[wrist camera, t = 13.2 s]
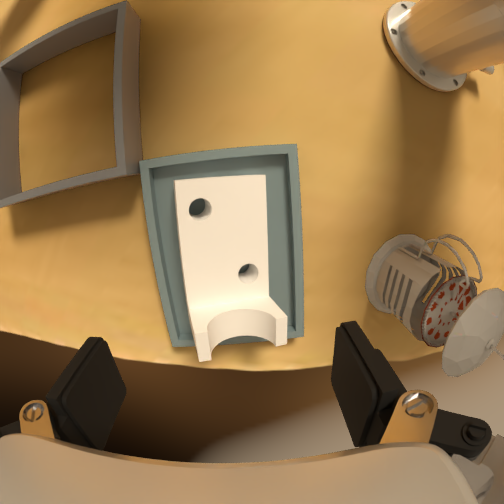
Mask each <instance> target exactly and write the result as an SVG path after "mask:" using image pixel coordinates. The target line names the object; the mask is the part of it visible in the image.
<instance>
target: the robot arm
mask: <svg viewBox="0 0 504 504" xmlns="http://www.w3.org/2000/svg"><path fill="white" fill-rule="evenodd" d="M383 28H384V32H385V36H386V39H387V41H388V44H389V46H390V48H391V50H392V51H393V53H394V55H395V56H396V58H397V59H398V60H399V62H400V63H401V64H402V65H403V67H404V68H405V69H406V70H407V71H408V72H409V73H410V74H411V75H412V76H413V77H414V78H415V79H417V80H418V81H419V82H421V83H422V84H424V85H426V86H427V87H429V88H431V89H434V90H437V91H442V92H448V91H453V90H456V89H458V88H460V87H461V86H462V85H463V83H464V82H465V79H466V76H467V73H468V72H472V71H475V70H481V71H483V72H485V73H487V74H489V75H491V74H493V72H494V65H498V64H502V63H504V0H420V1H419V2H417V3H414V2H409V1H401V2H397V3H395V4H393V5H392V6H391V7H390V8H388V10H387V11H386V13H385V15H384V19H383ZM331 382H332V386H333V389H334V391H335V394H336V397H337V400H338V402H339V405H340V408H341V410H342V413H343V416H344V419H345V421H346V424H347V427H348V430H349V432H350V435H351V438H352V441H353V444H354V446H355V447H360V448H355V449H350V450H344V451H339V452H334V453H328V454H323V455H316V456H310V457H303V458H296V459H287V460H279V461H267V462H252V463H188V462H174V461H163V460H154V459H146V458H138V457H132V456H126V455H120V454H114V453H110V452H105V451H102V450H103V449H104V447H105V444H106V442H107V439H108V437H109V434H110V431H111V429H112V426H113V424H114V422H115V419H116V417H117V414H118V412H119V410H120V407H121V405H122V402H123V400H124V398H125V395H126V387H125V384H124V382H123V380H122V378H121V375H120V373H119V371H118V368H117V366H116V364H115V361H114V359H113V356H112V354H111V351H110V349H109V346H108V344H107V342H106V341H104V339H103V338H101V337H89V338H88V339H87V340H86V341H85V343H84V344H83V345H82V347H81V348H80V349H79V351H78V352H77V353H76V355H75V356H74V358H73V359H72V360H71V361H70V363H69V364H68V366H67V367H66V369H65V370H64V371H63V373H62V374H61V375H60V377H59V378H58V379H57V381H56V383H55V384H54V385H53V387H52V388H51V390H50V391H49V392H48V394H47V395H46V399H47V401H48V403H47V404H45V403H44V402H43V401H40V400H34V401H31V402H29V403H27V404H26V405H25V406H23V408H22V409H21V412H20V420H19V421H17V422H14V423H12V424H9V425H7V426H4V427H1V428H0V504H504V437H502V436H500V435H498V434H497V435H496V437H495V436H493V435H492V431H491V428H490V426H489V425H488V424H487V423H486V422H485V421H483V420H481V419H478V418H473V417H468V416H464V415H460V414H456V413H452V412H448V411H444V410H441V409H438V403H437V401H436V399H435V397H434V396H433V395H431V394H430V393H429V392H426V391H423V390H411V391H408V392H407V391H406V389H405V388H404V386H403V384H402V383H401V381H400V380H399V378H398V377H397V375H396V374H395V372H394V371H393V369H392V367H391V366H390V364H389V363H388V361H387V360H386V358H385V357H384V355H383V354H382V352H381V351H380V350H379V349H374V348H373V346H372V345H371V343H370V342H369V340H368V339H367V337H366V336H365V334H364V333H363V331H362V330H361V328H360V327H359V325H358V324H357V322H356V321H350V322H344V323H341V325H340V327H337V328H336V334H335V345H334V356H333V366H332V375H331ZM471 489H472V490H471Z"/></svg>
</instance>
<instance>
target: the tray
mask: <svg viewBox="0 0 504 504" xmlns="http://www.w3.org/2000/svg"><path fill="white" fill-rule="evenodd" d="M139 164H140V174H141V183H142V192H143V200H144V207H145V214H146V221H147V228H148V234H149V240H150V246H151V252H152V257H153V263H154V268H155V273H156V278H157V283H158V288H159V293H160V297H161V302H162V306H163V310H164V315H165V319H166V323H167V327H168V331H169V335H170V339H171V342H172V346H173V347H189V346H195V342H194V338H193V334H192V330H191V325H190V321H189V316H188V310H187V303H186V296H185V289H184V282H183V274H182V266H181V258H180V249H179V240H178V230H177V219H176V208H175V195H174V181H173V180H182V179H193V178H205V177H222V176H239V175H266V201H267V234H268V274H269V296H270V298H271V299H272V300H273V301H274V302H275V303H276V304H277V305H278V307H279V308H280V309H281V310H282V311H283V312H284V313H285V314H286V315H287V339H289V338H297V337H304V278H303V241H302V217H301V198H300V181H299V166H298V153H297V144H282V145H264V146H249V147H237V148H227V149H217V150H208V151H200V152H192V153H185V154H178V155H171V156H165V157H159V158H153V159H147V160H142V161H139ZM204 209H205V201H204V199H203V198H198V199H195V200H194V201H192V203H191V204H190V206H189V213H190V214H192V215H198V214H200V213H202V212H203V211H204ZM248 268H249V264H245V265H243V266H242V267H241V268H240V270H239V272H238V274H241V273H244V272H245V271H247V269H248ZM262 341H269V340H267V339H264V338H261V337H257V336H236V337H232V338H228V339H226V340H224V341H222V342H220V343H219V344H217V345H226V344H239V343H251V342H262Z"/></svg>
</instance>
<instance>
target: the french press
mask: <svg viewBox="0 0 504 504" xmlns="http://www.w3.org/2000/svg"><path fill="white" fill-rule="evenodd" d="M446 237H448V238H452V239H455V240H458V241H460V242H461V243H462V244H463V245H464V246H466V247H467V249H468V250H469V251H470V253H471V254H472V255H473V257H474V259H475V261H476V263H477V265H478V269H479V274H480V279H479V280H478V279H476V278H473V277H468V274H467V270H466V267H465V265H464V263H463V262H462V260H461V258H460V256H459V255H458V253H457V252H456V251H455V250H454V249H453V248H452V247H451V246H450V245H449V244H448V243H446V242H444V241H441V240H440V239H443V238H446ZM430 242H435V243H434V245H433V248H432V251H431V249H430V248H429V246H428V245H427V243H430ZM438 242H439V243H441V244H443V245H445V246H447V247H448V248H449V249H450V250H451V251H452V252H453V253H454V254H455V255H456V257H457V258H458V260H459V262H460V264H461V266H462V268H463V270H462V269H460V268H458V267H456V266H455V265H453V264H451V263H449V262H447V261H445V260H444V259H442V258H440V257H438V256H436V255H434V254H433V252H434V249H435V247H436V245H437V243H438ZM438 262H439V263H440V265H441V267H442V277H441V279H440V281H439V283H438V284H437V285H436V287H435V288H434V290H433V291H432V293H431V294H430V296H429V297H428V298H427V300H426V301H425V303H423V302H422V300H423V299H424V297H425V296H426V294H427V293H428V291H429V290H430V289H431V287H432V286H433V284H434V283H435V281H436V279H437V278H438V276H439V271H441V269H440V266H439V264H438ZM444 266H446V267H447V269H448V271H449V280H447V281H446V282H444V280H445V279H446V269H445V267H444ZM450 267H452V268H453V270H454V273H455V275H456V277H453V273H452V271H451V269H450ZM454 267H456V268H457V269H458V270H459V272H460V274H461V276H459V275H458V273H457V270H456V269H455V268H454ZM482 278H483V276H482V272H481V267H480V263H479V261H478V259H477V257H476V255H475V253H474V252H473V250H472V249H471V248H470V247H469V246H468V244H467V243H466V242H464V241H463V240H462V239H461V238H459V237H456V236H454V235H451V234H446V235H442V236H440V237H438V239H430V240H427V241H426V242H425V240H424V239H422V238H420V237H418V236H416V235H414V234H400V235H398V236H396V237H394V238H392V239H390V240H388V241H386V242H385V243H384V244H383V245H382V247H381V248H380V249H379V250H378V251H377V252H376V253H375V254H374V256H373V258H372V260H371V263H370V265H369V267H368V269H367V274H366V283H365V289H366V292H367V296H368V299H369V301H370V303H371V304H372V305H373V306H374V307H375V308H376V309H377V310H379V311H382V312H385V313H389V314H390V313H393V314H395V315H397V316H396V317H397V318H398V319H399V320H402V321H403V322H401V321H400V322H401V323H402V324H403V325H404V326H405V327H406V328H407V329H408V330H409V331H410V332H411V333H412V334H413V335H414V336H415V337H416V338H417V339H418V340H421V341H424V342H425V343H426V344H427V345H428V346H432V347H436V348H437V347H440V346H443V345H445V346H444V349H443V353H442V369H443V370H444V372H445V373H446V374H447V375H448V376H454V377H458V376H461V375H463V374H465V373H468V372H470V371H472V370H473V369H475V368H477V367H478V366H480V365H481V364H482V363H483V362H484V361H485V360H486V359H487V358H488V356H489V355H490V354H491V353H492V352H493V351H495V352H496V353H497V354H499V355H500V356H501V357H502V358H503V359H504V355H503V354H502V353H500V352H499V351H498V350H497V349H496V346H497V344H498V342H499V340H500V339H501V337H502V335H503V333H504V291H502V290H500V289H499V288H494V289H489V290H484V291H482V292H481V293H480V294H478V295H477V288H476V285H475V283H474V281H476V282H478V283H480V282H481V281H482ZM473 280H474V281H473ZM443 282H444V283H443ZM399 316H401V317H402V318H403V319H402V318H399ZM411 328H412V329H413V330H411Z"/></svg>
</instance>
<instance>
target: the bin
mask: <svg viewBox="0 0 504 504" xmlns="http://www.w3.org/2000/svg"><path fill="white" fill-rule="evenodd" d="M140 20H141V19H140V18H139V17H138V15H137V14H136V12H135V11H134V9H133V8H132V7H131V5H130V4H129V2H128V1H127V0H126V1H123V2H120V3H117V4H114V5H111V6H108V7H105V8H103V9H100V10H97V11H95V12H92V13H90V14H87V15H85V16H83V17H80V18H78V19H76V20H73V21H71V22H69V23H67V24H65V25H63V26H61V27H59V28H57V29H55V30H53V31H51V32H49V33H47V34H45V35H43V36H42V37H40V38H38V39H36V40H35V41H33V42H31V43H29V44H28V45H26V46H25V47H23V48H21V49H20V50H18V51H17V52H15V53H14V54H12V55H11V56H9V57H8V58H6V59H5V60H3V61H2V62H0V208H3V207H6V206H10V205H14V204H18V203H21V202H25V201H28V200H31V199H35V198H38V197H42V196H45V195H49V194H53V193H56V192H60V191H64V190H68V189H72V188H76V187H80V186H85V185H89V184H93V183H98V182H103V181H107V180H112V179H117V178H122V177H127V176H133V175H138V174H140V164H139V161H142V160H143V155H142V143H141V128H140V107H139V40H140ZM114 32H116V36H115V50H114V75H113V108H114V134H115V149H116V162H117V167H114V168H109V169H104V170H100V171H96V172H92V173H87V174H83V175H80V176H76V177H72V178H68V179H64V180H61V181H57V182H54V183H50V184H47V185H44V186H40V187H37V188H34V189H31V190H28V191H25V192H22V189H21V179H20V165H19V103H20V91H21V81H22V74H23V73H25V72H26V71H28V70H30V69H32V68H34V67H35V66H37V65H39V64H41V63H43V62H45V61H47V60H49V59H51V58H53V57H55V56H57V55H59V54H61V53H63V52H65V51H68V50H70V49H72V48H75V47H77V46H79V45H82V44H84V43H87V42H89V41H92V40H94V39H97V38H100V37H103V36H105V35H108V34H111V33H114Z"/></svg>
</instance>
